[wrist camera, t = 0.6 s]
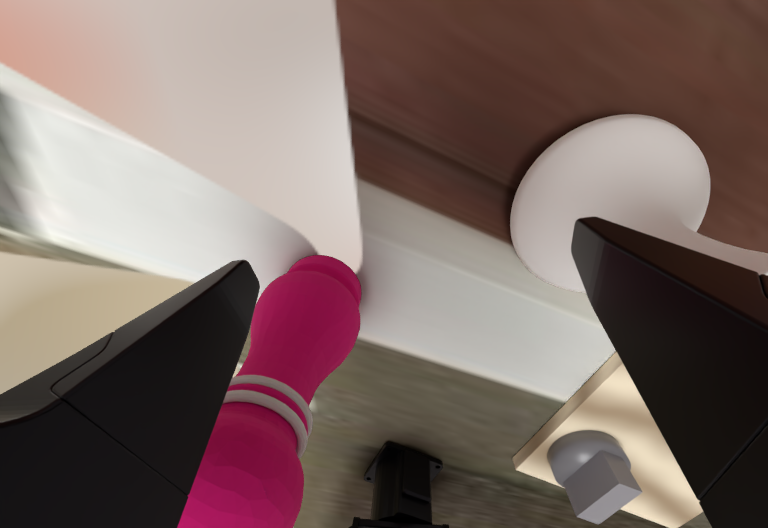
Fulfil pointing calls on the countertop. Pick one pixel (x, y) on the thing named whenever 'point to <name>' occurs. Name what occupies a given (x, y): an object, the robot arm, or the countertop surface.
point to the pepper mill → (275, 399)
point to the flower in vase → (616, 194)
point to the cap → (593, 473)
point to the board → (636, 437)
